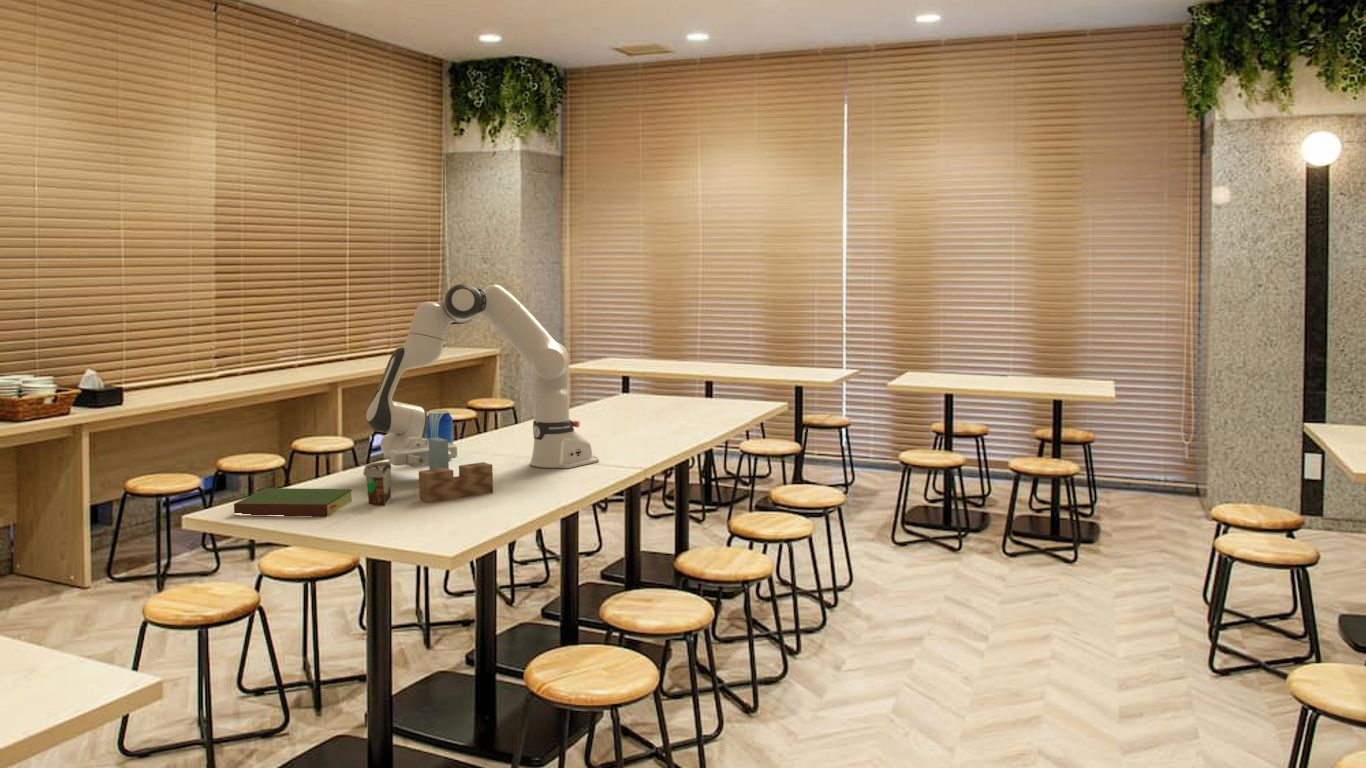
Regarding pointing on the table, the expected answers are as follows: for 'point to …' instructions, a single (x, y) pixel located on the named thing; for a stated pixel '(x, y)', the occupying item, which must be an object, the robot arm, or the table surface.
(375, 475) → the food container
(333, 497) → the hardcover book
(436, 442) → the sage green pillar
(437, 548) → the table surface
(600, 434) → the table surface
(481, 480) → the notched wooden block
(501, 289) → the robot arm
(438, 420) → the beer can
